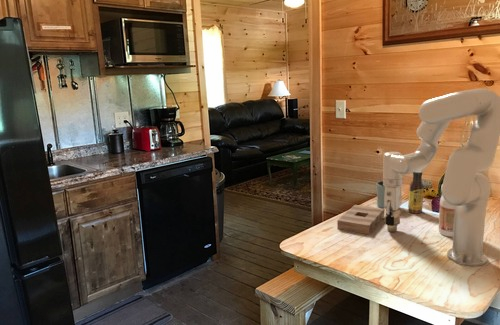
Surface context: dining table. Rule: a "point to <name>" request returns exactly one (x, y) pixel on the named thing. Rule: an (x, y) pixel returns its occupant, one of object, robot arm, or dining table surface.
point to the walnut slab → (360, 219)
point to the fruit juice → (446, 217)
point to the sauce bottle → (416, 193)
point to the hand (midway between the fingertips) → (392, 221)
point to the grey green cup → (380, 194)
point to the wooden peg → (396, 220)
